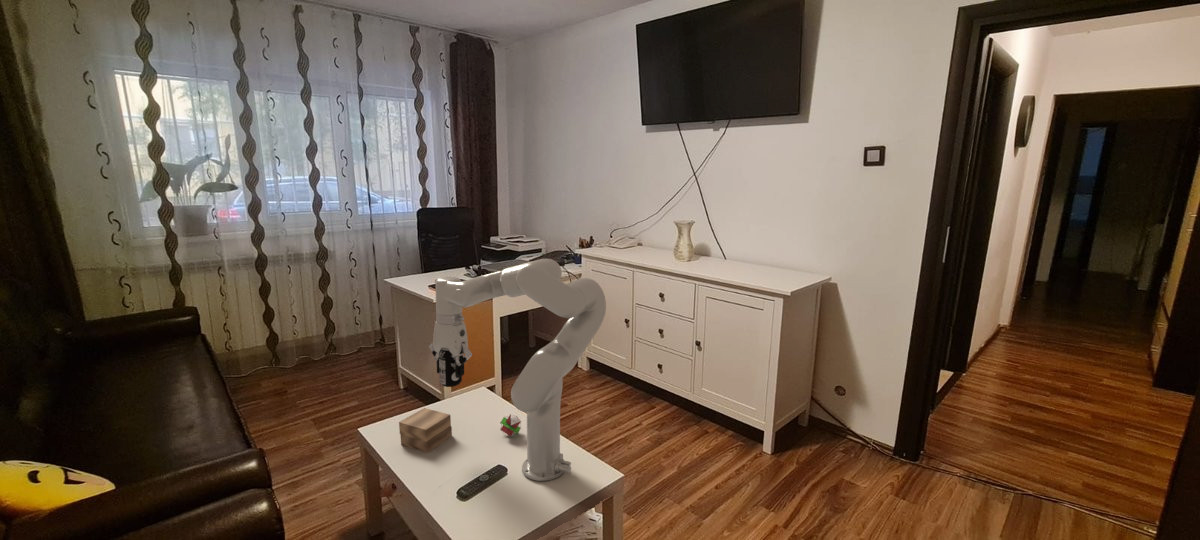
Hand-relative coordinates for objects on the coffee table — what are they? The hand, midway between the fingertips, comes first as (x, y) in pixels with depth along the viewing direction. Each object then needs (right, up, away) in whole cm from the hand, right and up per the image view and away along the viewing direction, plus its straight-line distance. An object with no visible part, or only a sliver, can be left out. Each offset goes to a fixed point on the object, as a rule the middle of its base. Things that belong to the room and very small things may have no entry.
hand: (450, 373), depth 156 cm
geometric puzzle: (+17, -23, +11) cm, 30 cm away
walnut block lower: (-10, -24, +8) cm, 27 cm away
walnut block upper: (-10, -20, +7) cm, 23 cm away
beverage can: (0, -3, +1) cm, 3 cm away
